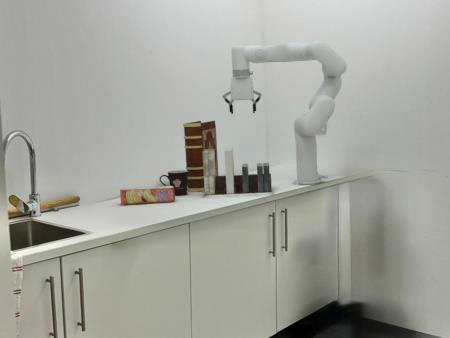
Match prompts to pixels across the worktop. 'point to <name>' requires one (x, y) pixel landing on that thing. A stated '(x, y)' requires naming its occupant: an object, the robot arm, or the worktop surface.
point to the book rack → (235, 178)
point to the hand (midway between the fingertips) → (243, 113)
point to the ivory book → (229, 171)
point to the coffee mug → (178, 181)
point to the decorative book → (198, 151)
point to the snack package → (147, 194)
